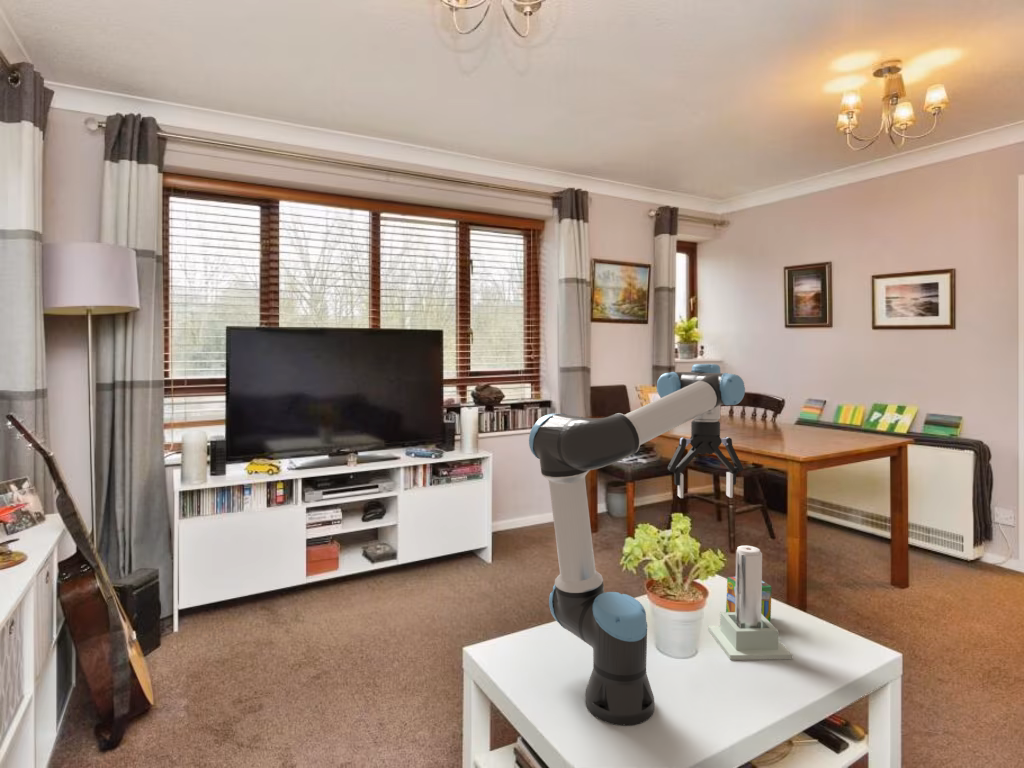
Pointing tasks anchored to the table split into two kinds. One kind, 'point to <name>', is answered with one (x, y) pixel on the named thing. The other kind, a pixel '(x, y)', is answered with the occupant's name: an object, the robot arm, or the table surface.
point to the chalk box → (764, 601)
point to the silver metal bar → (748, 587)
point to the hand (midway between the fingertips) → (704, 496)
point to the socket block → (748, 640)
